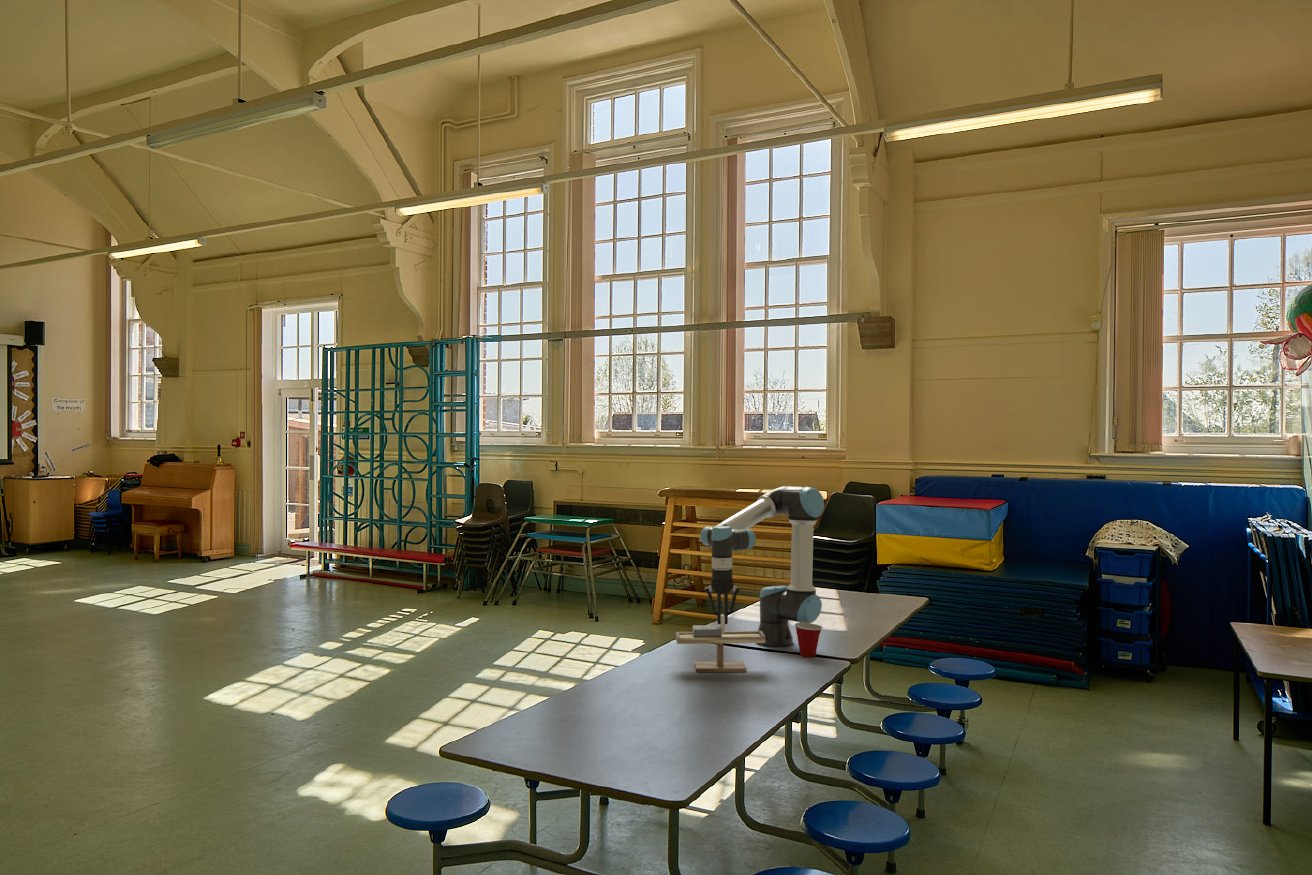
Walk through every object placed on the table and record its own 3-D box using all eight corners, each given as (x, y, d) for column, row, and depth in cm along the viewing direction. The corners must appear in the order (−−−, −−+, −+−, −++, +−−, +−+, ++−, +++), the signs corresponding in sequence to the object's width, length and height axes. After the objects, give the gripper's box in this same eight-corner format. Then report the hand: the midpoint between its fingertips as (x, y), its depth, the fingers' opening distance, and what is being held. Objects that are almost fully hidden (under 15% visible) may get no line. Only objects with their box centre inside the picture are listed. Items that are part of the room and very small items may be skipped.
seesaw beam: (675, 640, 326) (675, 631, 326) (761, 638, 327) (761, 630, 327) (676, 646, 316) (676, 637, 316) (765, 645, 317) (765, 636, 317)
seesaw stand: (694, 664, 326) (694, 640, 326) (742, 664, 327) (742, 640, 327) (696, 672, 316) (696, 647, 316) (746, 671, 317) (746, 647, 317)
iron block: (692, 634, 325) (692, 625, 325) (719, 634, 325) (719, 625, 325) (694, 639, 318) (693, 629, 318) (721, 638, 318) (721, 629, 318)
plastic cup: (825, 659, 334) (825, 627, 334) (796, 659, 335) (796, 627, 335) (820, 652, 345) (820, 621, 345) (792, 652, 346) (792, 621, 346)
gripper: (705, 570, 317) (705, 635, 317) (740, 569, 318) (741, 635, 318) (703, 567, 325) (704, 630, 325) (738, 566, 325) (738, 630, 325)
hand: (722, 632), depth 321 cm, fingers closed
